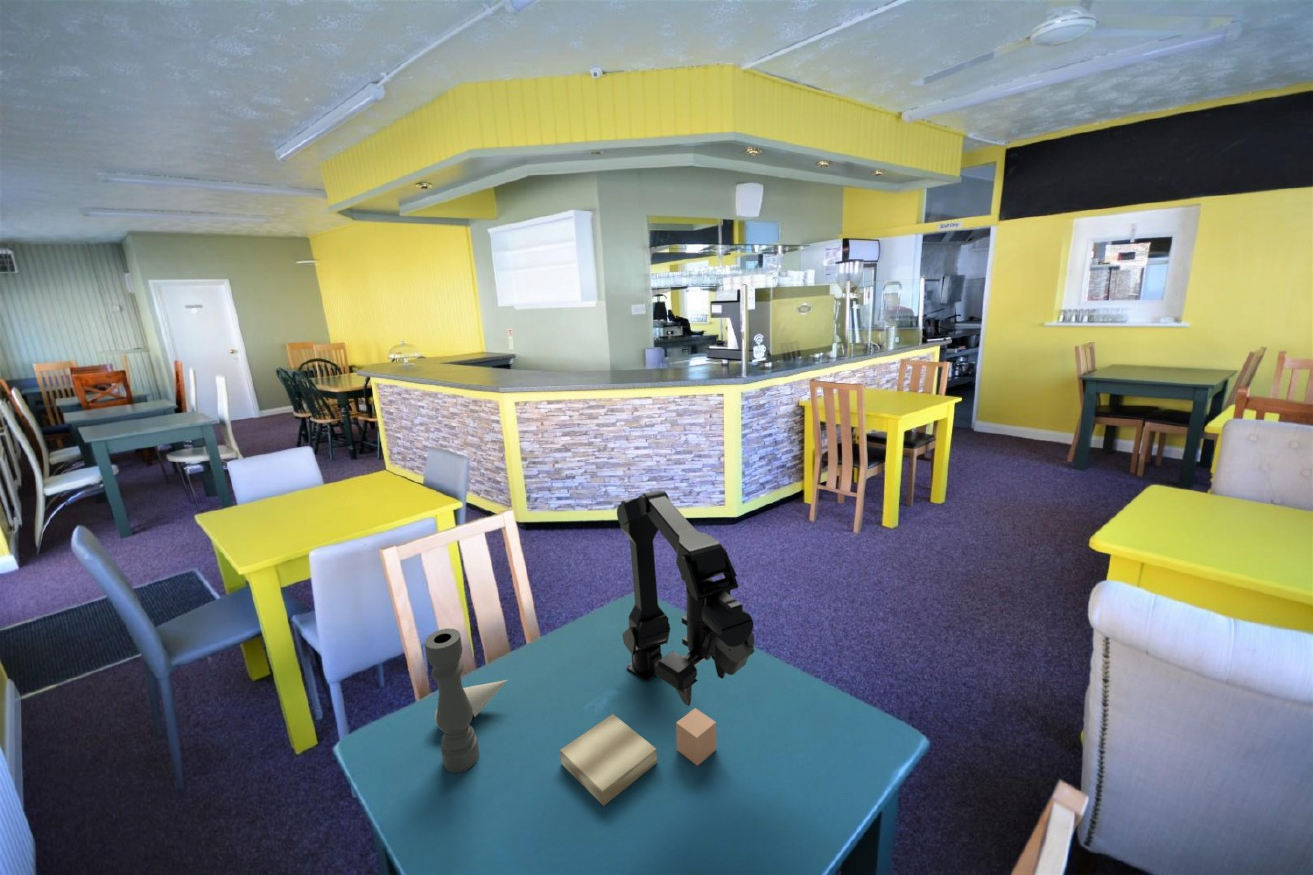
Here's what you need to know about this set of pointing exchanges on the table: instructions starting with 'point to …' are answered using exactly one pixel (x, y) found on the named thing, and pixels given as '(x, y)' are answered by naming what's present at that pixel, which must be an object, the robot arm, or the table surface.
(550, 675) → the table surface
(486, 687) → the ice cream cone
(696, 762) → the terracotta block
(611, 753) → the birch base
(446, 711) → the candle holder
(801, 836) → the table surface
